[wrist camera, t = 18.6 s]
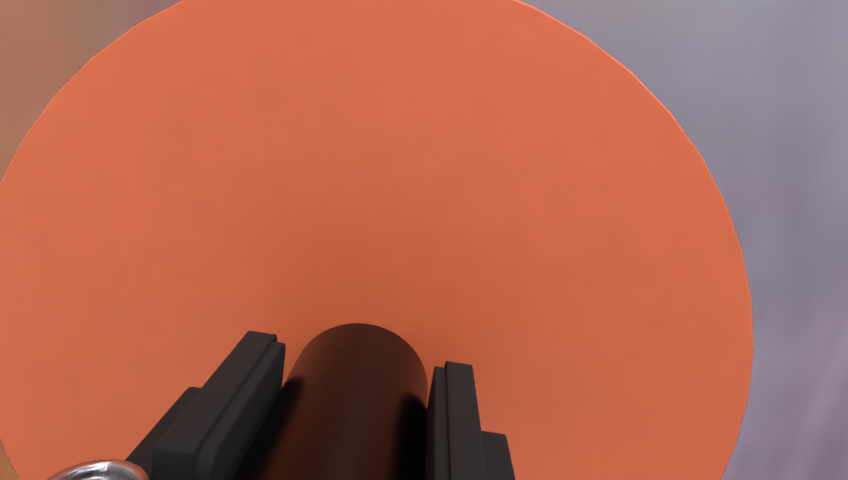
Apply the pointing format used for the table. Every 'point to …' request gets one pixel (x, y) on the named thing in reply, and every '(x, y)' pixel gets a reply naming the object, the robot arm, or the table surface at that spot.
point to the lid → (371, 245)
